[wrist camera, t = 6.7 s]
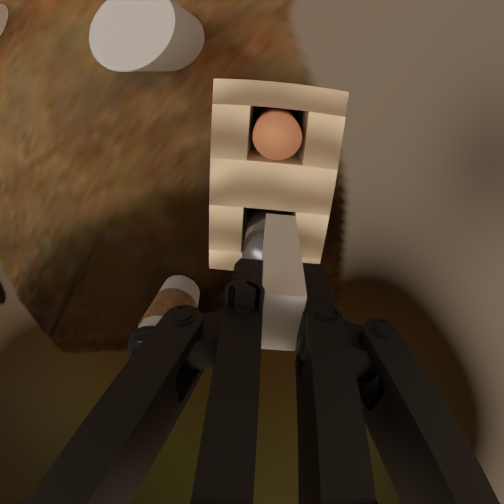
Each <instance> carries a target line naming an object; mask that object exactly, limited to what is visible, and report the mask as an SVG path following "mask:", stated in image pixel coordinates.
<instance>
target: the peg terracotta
mask: <svg viewBox="0 0 504 504" xmlns="http://www.w3.org/2000/svg"><path fill="white" fill-rule="evenodd" d="M301 142H302V132H301V129H300V126H299V125H298V123H297V121H296V120H295V118H294V116H293V115H292V113H291V112H290V111H289V110H288V109H283V108H273V107H266V108H264V109H263V110H262V111H261V112H260V114H259V115H258V118H257V121H256V124H255V127H254V130H253V143H254V146H255V148H256V149H257V151H258V152H259V153H260V154H261V155H263V156H264V157H266V158H268V159H272V160H283V159H287V158H289V157H291V156H292V155H294V154H295V153H296V152H297V150H298V149H299V147H300V145H301Z"/></svg>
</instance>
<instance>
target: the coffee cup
mask: <svg viewBox="0 0 504 504" xmlns="http://www.w3.org/2000/svg"><path fill="white" fill-rule="evenodd" d="M199 297H200V290H199V287H198V286H197V284H196V283H195V282H194V281H193V280H192V279H190V278H188V277H186V276H182V275H175V276H171V277H169V278H168V279H167V280H166V281H165V282H164V284H163V286H162V287H161V289H160V291H159V293H158V294H157V295H156V297H155V299H154V300H153V302H152V303H151V305H150V307H149V308H148V310H147V311H146V313H145V315H144V316H143V318H142V320H141V321H140V323H139V325H138V328H137V329H136V330H134V331H133V333H132V334H131V337H130V338H129V341H128V350H127V355H128V358H129V359H130V358H131V357H132V355H133V354H134V353H135V351H136V350H137V349H138V347H139V346H140V345H141V344H142V342H143V341H144V340H145V338H146V337H147V336H148V334H149V333H150V332H151V331H152V329H153V328H154V327H155V325H156V324H157V323H158V322H159V320H160V319H161V318H162V316H163V315H164V314H165V313H166V312H167V311H168V310H169V309H170V308H172V307H174V306H177V305H184V304H185V305H192V306H194V307H196V308H198V302H199Z"/></svg>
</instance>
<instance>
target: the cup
mask: <svg viewBox="0 0 504 504" xmlns="http://www.w3.org/2000/svg"><path fill="white" fill-rule="evenodd" d="M204 38H205V35H204V29H203V27H202V24H201V23H200V21H199V20H198V19H197V18H196V17H195V16H194V15H192V14H191V13H190V12H188V11H187V10H186V9H184V8H183V7H181V6H180V5H179V4H177V3H176V2H174V1H173V0H107V1H106V2H105V3H104V4H103V5H102V6H101V7H100V8H99V10H98V11H97V13H96V14H95V16H94V18H93V21H92V23H91V27H90V32H89V44H90V48H91V51H92V53H93V55H94V57H95V59H96V60H97V61H98V62H99V63H100V64H101V65H103V66H104V67H106V68H108V69H110V70H113V71H119V72H130V71H176V70H179V69H182V68H184V67H186V66H188V65H189V64H191V63H192V62H193V61H194V60H195V59H196V58H197V57H198V55H199V54H200V52H201V50H202V48H203V45H204Z"/></svg>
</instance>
